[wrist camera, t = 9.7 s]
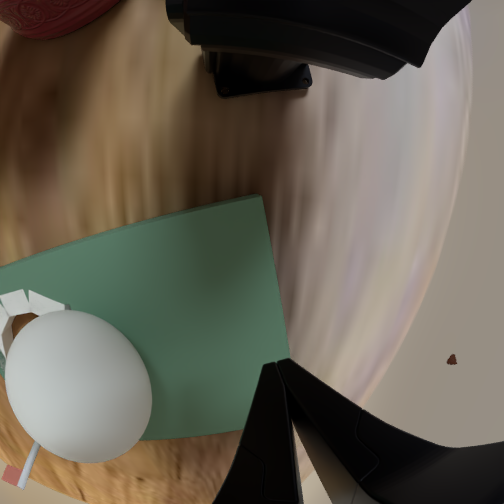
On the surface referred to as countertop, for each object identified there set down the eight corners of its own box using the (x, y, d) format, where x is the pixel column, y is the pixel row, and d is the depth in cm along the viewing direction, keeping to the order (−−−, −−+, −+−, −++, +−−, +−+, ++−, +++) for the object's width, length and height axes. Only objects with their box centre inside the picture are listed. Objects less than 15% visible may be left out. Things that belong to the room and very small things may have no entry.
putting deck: (256, 193, 18) (327, 232, 7) (294, 401, 25) (331, 501, 13) (-39, 283, 16) (-105, 333, 5) (41, 422, 22) (14, 489, 11)
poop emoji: (452, 352, 170) (458, 358, 161) (455, 354, 173) (461, 360, 164) (444, 362, 172) (451, 368, 163) (448, 364, 174) (454, 370, 165)
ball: (169, 306, 14) (-20, 316, 7) (196, 463, 13) (45, 506, 6) (111, 305, 21) (-1, 308, 13) (129, 415, 20) (27, 432, 12)
